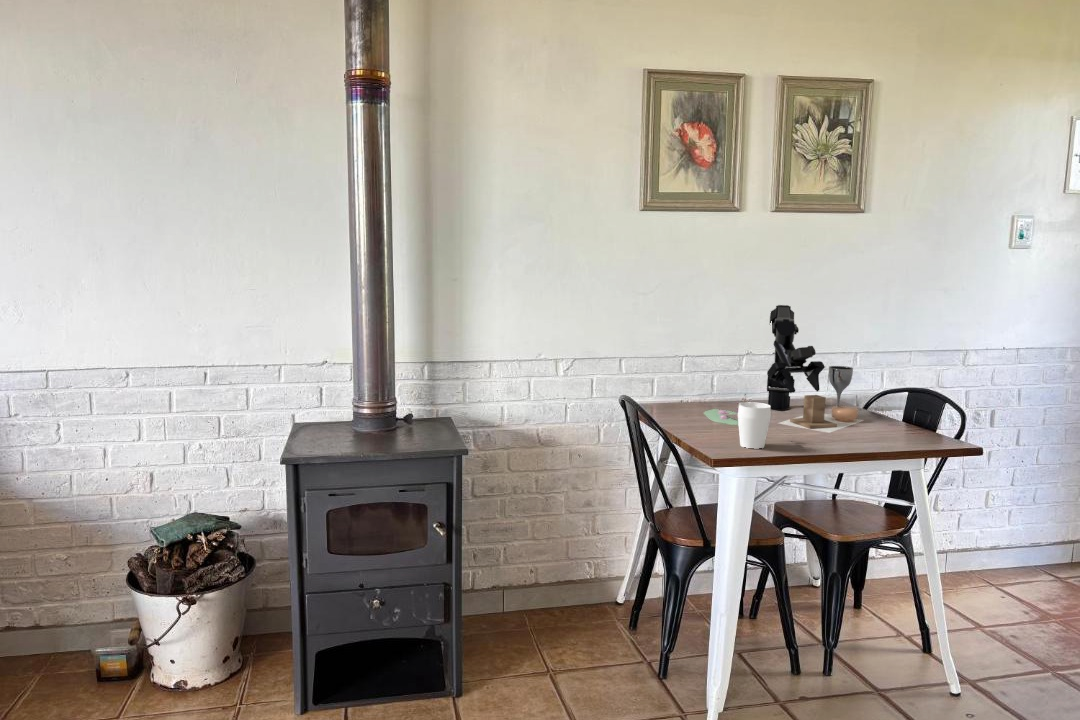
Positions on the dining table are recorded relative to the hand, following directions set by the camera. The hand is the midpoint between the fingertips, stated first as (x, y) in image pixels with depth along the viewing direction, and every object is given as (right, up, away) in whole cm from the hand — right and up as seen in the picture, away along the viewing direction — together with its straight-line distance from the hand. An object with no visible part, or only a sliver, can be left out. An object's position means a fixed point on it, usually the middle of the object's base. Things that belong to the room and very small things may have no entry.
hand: (806, 391), depth 254 cm
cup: (-25, -15, -27) cm, 40 cm away
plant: (-21, -10, +11) cm, 25 cm away
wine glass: (+20, -8, +27) cm, 34 cm away
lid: (+1, -10, -2) cm, 11 cm away
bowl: (+14, -10, +5) cm, 18 cm away
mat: (+5, -11, +2) cm, 12 cm away
